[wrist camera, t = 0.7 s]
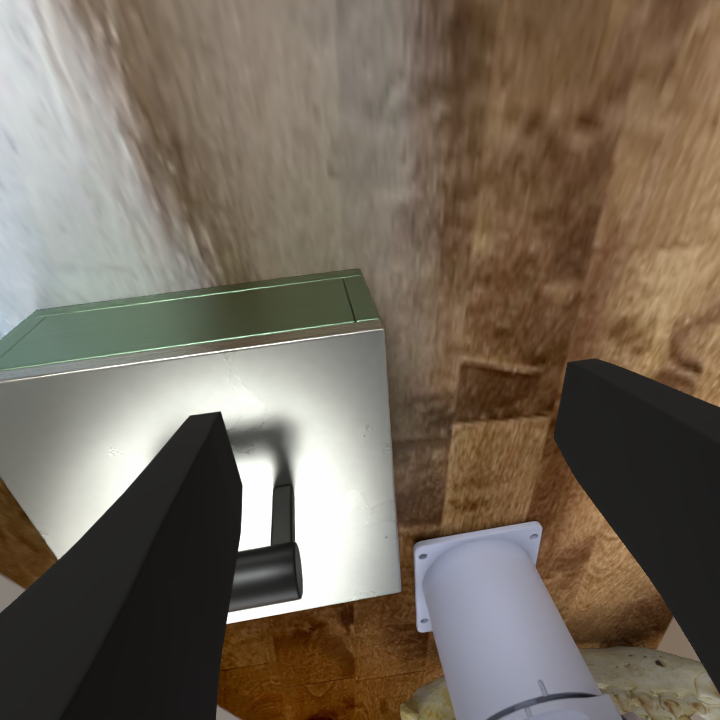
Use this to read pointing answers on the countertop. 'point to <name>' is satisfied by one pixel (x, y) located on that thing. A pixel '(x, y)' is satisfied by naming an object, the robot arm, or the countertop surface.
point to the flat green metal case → (187, 318)
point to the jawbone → (613, 686)
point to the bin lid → (249, 445)
